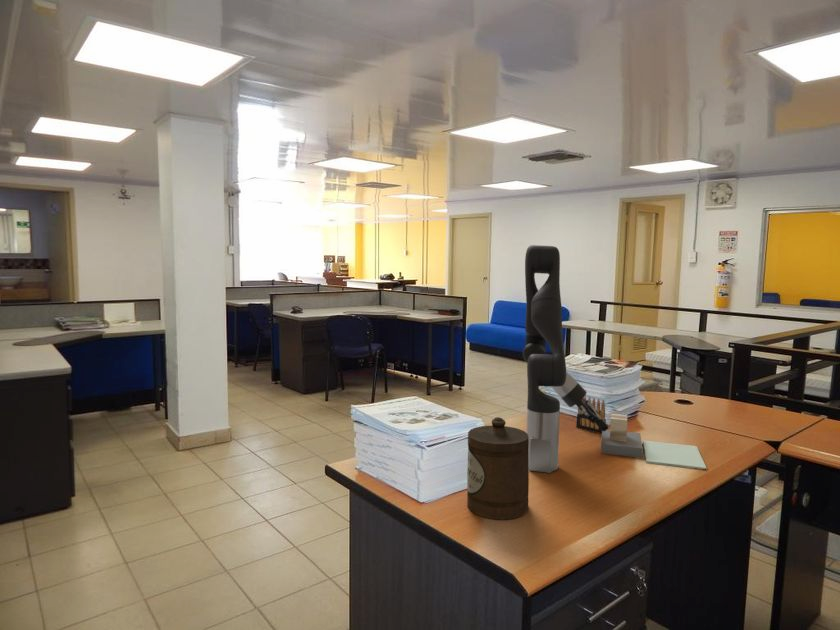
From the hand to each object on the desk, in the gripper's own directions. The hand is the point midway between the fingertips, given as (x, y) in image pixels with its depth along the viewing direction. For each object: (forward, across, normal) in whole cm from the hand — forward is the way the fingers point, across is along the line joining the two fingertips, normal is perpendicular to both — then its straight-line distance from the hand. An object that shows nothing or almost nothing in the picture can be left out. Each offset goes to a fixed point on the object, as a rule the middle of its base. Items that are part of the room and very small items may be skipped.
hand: (606, 429), depth 174 cm
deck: (+7, 0, +1) cm, 7 cm away
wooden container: (-13, -56, +22) cm, 61 cm away
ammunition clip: (0, +16, +8) cm, 18 cm away
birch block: (+4, 0, -1) cm, 4 cm away
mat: (+18, -2, -10) cm, 21 cm away
